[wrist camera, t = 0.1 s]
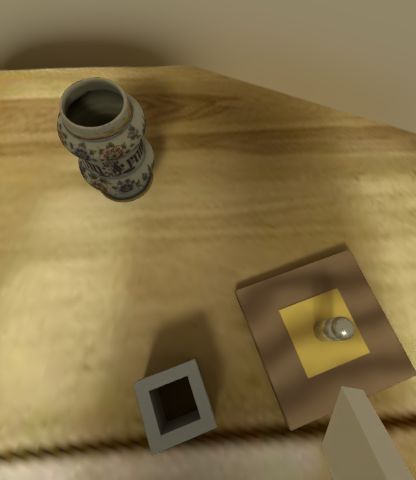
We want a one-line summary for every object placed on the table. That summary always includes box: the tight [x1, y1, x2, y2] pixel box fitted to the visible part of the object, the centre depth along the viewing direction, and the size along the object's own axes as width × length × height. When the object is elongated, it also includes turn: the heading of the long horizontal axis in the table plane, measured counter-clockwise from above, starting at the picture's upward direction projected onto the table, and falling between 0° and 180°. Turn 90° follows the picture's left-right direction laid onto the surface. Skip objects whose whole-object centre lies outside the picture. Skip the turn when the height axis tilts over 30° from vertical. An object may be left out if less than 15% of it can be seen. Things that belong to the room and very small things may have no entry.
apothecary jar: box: [57, 77, 154, 202], centre depth 46 cm, size 12×12×18 cm
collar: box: [133, 358, 217, 455], centre depth 40 cm, size 8×8×7 cm
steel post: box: [313, 316, 355, 342], centre depth 41 cm, size 3×3×8 cm
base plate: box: [235, 250, 416, 431], centre depth 45 cm, size 20×20×2 cm
